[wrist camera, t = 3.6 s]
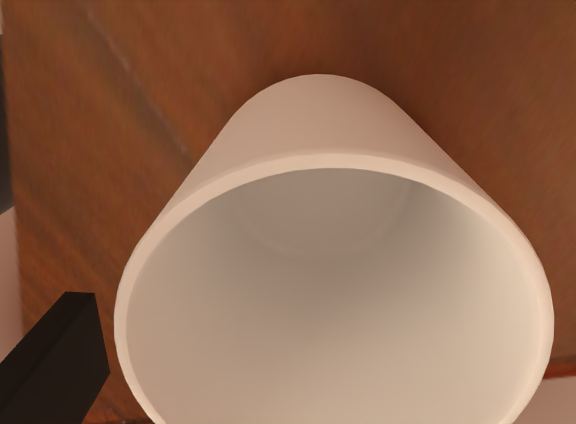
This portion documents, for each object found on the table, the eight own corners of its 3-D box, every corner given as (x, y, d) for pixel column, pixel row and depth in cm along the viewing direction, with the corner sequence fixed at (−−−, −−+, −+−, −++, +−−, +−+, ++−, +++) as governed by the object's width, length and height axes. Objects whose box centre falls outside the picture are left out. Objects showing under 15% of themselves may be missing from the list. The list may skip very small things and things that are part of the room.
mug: (425, 316, 20) (527, 576, 11) (256, 334, 21) (215, 588, 12) (414, 52, 15) (584, 111, 6) (194, 89, 16) (38, 192, 7)
